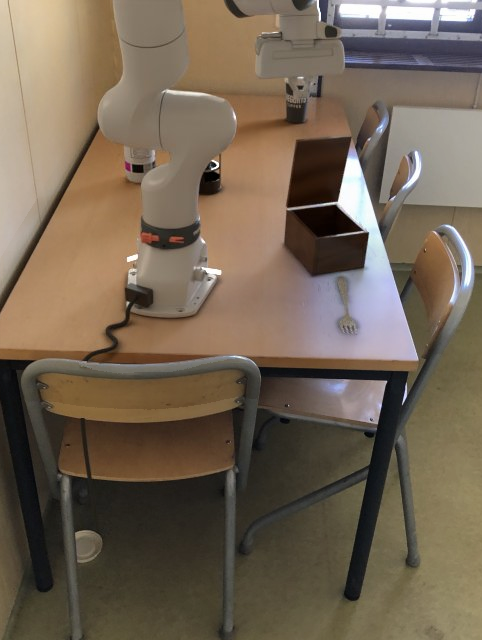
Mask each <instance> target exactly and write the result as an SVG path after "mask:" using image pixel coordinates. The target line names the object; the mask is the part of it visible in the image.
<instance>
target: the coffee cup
mask: <svg viewBox="0 0 482 640" xmlns="http://www.w3.org/2000/svg"><path fill="white" fill-rule="evenodd" d="M283 81H284V83H285V108H286V109H285V111H286V112H285V113H286V115H285V116H286V117H285V118H286V121H287V122H288V123H292V124H303V123H305V122H306V119H307V113H308V107H309V100H310V96H311V88H312V86H311V87H310V89H309V90H308V98H307V99H294V98H293V90H292V88H291V87H290V85H289V83H288V78H284V80H283ZM305 83H306V82H304V81H303V77H298V82H297V83H295V84H296V86H297V87H298V89H299V90H302V89H303V87H304V85H305Z"/></svg>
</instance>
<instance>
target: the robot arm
mask: <svg viewBox="0 0 482 640" xmlns="http://www.w3.org/2000/svg"><path fill="white" fill-rule="evenodd" d="M223 3H224V5H225V7H226V9H227V10H228V11H229V12H230V13H231V14H232V15H233V16H234V17H236V18H238V19H243V18H244V19H245V18H251V17H255V16H256V17H257V16H270V15H278V31H273V32H261V33H260V35H258V36H257V37H256V38H255V40H254V51H255V53H256V55H255V66H254V67H255V69H254V70H255V71H254V73H255V76H256V77H257V78H258V79H259V80H273V79H285V78H288V83H289V85H290V87H291V88H292V90H293V98H294V99H307V98H308V90H309V89H310V87H311V88H312V84H314V77H319V76H320V77H322V76H337V75H338V76H339V75H342V74H343V72H344V71H345V68H346V60H345V59H346V58H345V47H344V44H343V42H342V40H340V38H341V37H342V28H340V27H339V26H336V25H333V24H331V23H327V22H324V21H322V20H321V11H320V7H319V6H320V5H319V0H223ZM112 6H113V16H114V22H115V26H116V27H115V28H116V33H117V37H118V42H119V47H120V51H121V58H122V74H121V77H120V80H119V81H118V83H117V84H116V85H114V86H113V87H111V88H110V89H109V90H107V92H105V93H104V95H103V96H102V97H101V100H100V101H99V104H98V106H97V107H98V109H97V123H98V126H99V129H100V131H101V133H102V135H103V136H104V138H105V139H106V140H107V141H108V142H110V143H114V144H116V145H120V146H123V147H124V146H126V147H129V148H135V149H146V150H155V152H166V153H168V154H169V161H167V162H165V163H163V164H160V165H156V167H155V168H153V169H152V170H150V171H149V172H148V173H147V174H146V175H145V176H144V178H143V180H142V183H140V195H141V208H142V209H141V211H142V212H141V216H140V223H139V230H140V233H139V235H140V236H139V237H138V238H136V253H137V254H134V255H131V256H128V257H127V258H126V261H127V262H128V263H129V262H131V261H135V260H136V262H133V264H132V267H133V268H130V269H129V270H128V271H127V272H128V273H127V285H125V286H124V298H125V299H124V300H125V302H126V304H125V312H124V313H125V317H124V319H123V320H122V321H121V322H117V323H113V324H109V325H107V326H106V328H105V329H104V333H105V335H106V336H107V337H108V339H110V340H111V341H112V342H113V344H112V345H110V346H107V347H104V348H99V349H96V350H94V351H91V352H89V353H88V354H87V355H85V356H84V358H83V359H82V360H81V362H82V361H87V362H88V361H89V360H90V359H92V358H93V357H95V356H98V355H102V354H106V353H109V352H112V351H114V350H116V349H117V347H118V346H119V341H118V338H117V337H116V336H115V335H114V334H112V332H111V330H113V329H117V328H121V327H124V326H126V325H127V324H128V323H129V322H130V318H131V313H133V314H136V315H140V316H145V317H152V318H167V319H169V318H170V319H173V318H174V319H175V318H186V317H190V316H194V315H196V314H197V313H198V311H199V309H201V306H202V305H203V303H204V302H205V300H206V299H207V297H208V296H209V294H210V293H211V291H212V289H213V288H214V286H215V285H216V283H217V282H218V277H217V275H222V269H221V270H219V269H215V268H209V267H210V266H209V264H210V263H209V246H208V243H207V242H206V241H205V240H204V239H203V238H202V236H201V228H202V223H201V216H200V214H199V195H200V194H199V184H200V180H201V177H202V174H203V172H204V170H205V168H206V167H207V165H208V164H209V163H210V162H211V161H212V160H213V161H214V159H215V158H216V157H218V156H219V154H221V155H222V154H223V153H224V152H225V151H226V150H227V149H228V148H229V147H230V146H231V145H232V143H233V141H234V139H235V137H236V134H237V127H238V126H237V117H236V113H235V110H234V108H233V106H232V105H231V103H230V102H229V101H228V99H226V98H223V97H220V96H217V95H214V94H209V93H206V92H202V91H191V90H190V91H189V90H178V89H172V88H173V87H175V85H177V84H178V83H179V82H180V81H181V80H182V79H183V78H184V77H185V76H186V74H187V72H188V70H189V66H190V60H191V59H190V53H189V52H190V51H189V42H188V35H187V27H186V19H185V13H184V7H183V2H182V0H112ZM298 77H303V81H304V82H306V83H305V85H304V87H303V89H302V90H299V89H298V87H297V86H296V84H295V83H297V82H298ZM310 90H311V89H310ZM79 420H80V433H81V442H82V450H83V451H82V452H83V457H84V464H85V471H86V477H87V484H88V489H89V496H90V501H91V502H90V503H91V509H92V516H93V524H94V525H93V526H94V532H95V534H99V533H100V525H99V517H98V510H97V509H98V508H97V503H96V496H95V490H94V483H93V477H92V476H93V475H92V470H91V469H92V468H91V464H90V457H89V456H90V455H89V449H88V441H87V440H88V439H87V429H86V417H85V418H80V417H79Z"/></svg>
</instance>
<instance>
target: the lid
mask: <svg viewBox="0 0 482 640" xmlns="http://www.w3.org/2000/svg"><path fill="white" fill-rule="evenodd" d="M352 138H353V136H352V135H351V134H343V135H333V136H320V137H311V138H299V139H295V143H294V151H293V157H292V163H291V170H290V176H289V183H288V190H287V197H286V203H285V207H286V209H292V208H300V207H308V206H317V205H325V204H333V203H338V202H339V198H340V194H341V190H342V185H343V180H344V175H345V170H346V166H347V161H348V157H349V152H350V148H351V142H352Z"/></svg>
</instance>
